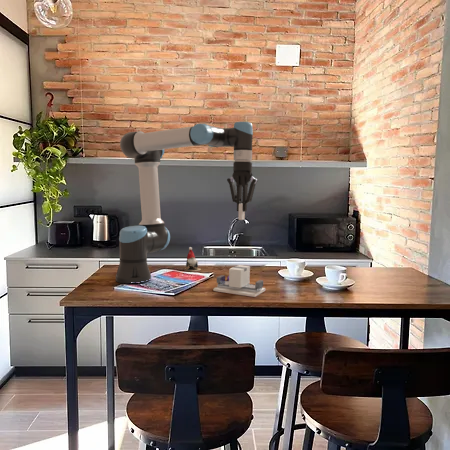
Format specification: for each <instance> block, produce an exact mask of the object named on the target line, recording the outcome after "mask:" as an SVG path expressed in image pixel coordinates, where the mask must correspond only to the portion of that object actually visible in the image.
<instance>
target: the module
mask: <svg viewBox="0 0 450 450" xmlns="http://www.w3.org/2000/svg"><path fill="white" fill-rule="evenodd" d="M228 269H229V271H228V276H229V286H230V287H237V288H241V287H243V286H245V285H247V284H251V283H250V280H251V279H250V278H251V277H250V276H251V272H250V271H251V266H250V265H242V264H241V265H240V264H239V265H235V266H233V267H231V268H228Z"/></svg>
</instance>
